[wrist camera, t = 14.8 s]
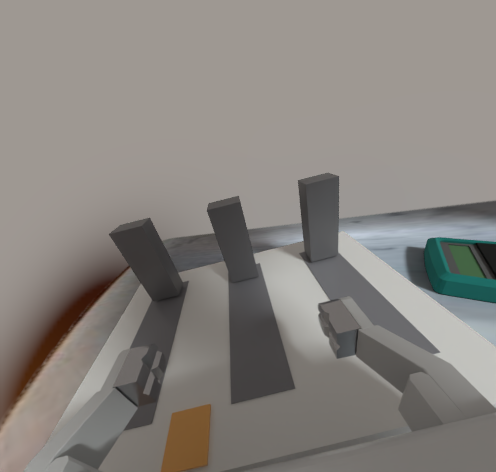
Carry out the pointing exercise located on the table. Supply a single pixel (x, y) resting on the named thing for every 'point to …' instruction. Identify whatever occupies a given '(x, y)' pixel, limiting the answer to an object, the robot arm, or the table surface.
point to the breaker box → (272, 363)
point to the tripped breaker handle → (233, 238)
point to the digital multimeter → (462, 268)
